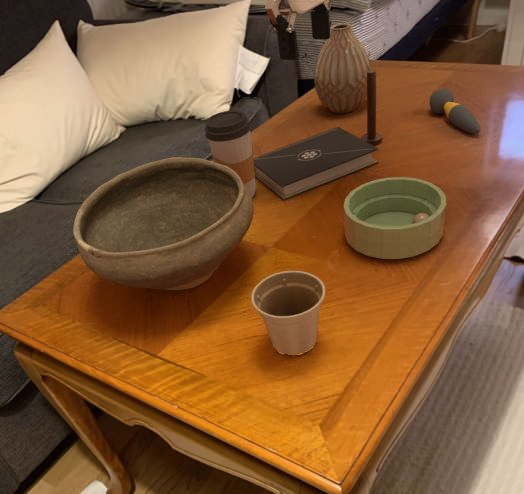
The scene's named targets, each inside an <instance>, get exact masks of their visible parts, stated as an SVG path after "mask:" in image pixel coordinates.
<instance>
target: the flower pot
mask: <svg viewBox="0 0 524 494" xmlns="http://www.w3.org/2000/svg"><path fill="white" fill-rule="evenodd" d="M325 296H326V287H325V284H324V282H323V281H322V280H321V279H320V278H319V277H318V276H317V275H315V274H313V273H310V272H307V271H304V270H303V271H302V270H284V271H279V272H276V273H272V274H271V275H268V276H267V277H265V278H263V279H261V280H260V281H259V282H258V283H257V284H256V285H255V286H254V287H253V290H252V291H251V295H250V300H251V304H252V306H253V308H254V309H255V310H256V311H257V313H258V315H259V316H260V317H261V318H262V321H263V323H264V326H265V328H266V332H267V334H268V337H269V340H270V342H271V345H272V347H273V349H274V348H275V349H276V350H277V351H279V352H281V353H283V354H288V355H287V356H290V355H297V354H300V353H304V352H305V351H308V350H309V349H310V348H312V347H313V346H314V345H315V346H316V344H317V342H318V330H319V320H320V319H319V318H320V309H321V307H322V305H323V302H324V300H325ZM315 343H316V344H315ZM315 346H314V347H315ZM314 347H313V348H314ZM275 349H274V350H275ZM276 350H275V351H276ZM277 351H276V352H277Z"/></svg>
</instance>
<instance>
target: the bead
mask: <svg viewBox="0 0 524 494" xmlns="http://www.w3.org/2000/svg"><path fill="white" fill-rule="evenodd" d="M427 218H429V215H427V214H425V213H419V214H417V215H415V216H414V218H413V220H412V224H415V223H417V222H420V221H422V220H425V219H427Z"/></svg>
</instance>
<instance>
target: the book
mask: <svg viewBox="0 0 524 494" xmlns="http://www.w3.org/2000/svg"><path fill="white" fill-rule="evenodd" d="M377 151H379V148H378V147H377V146H376V145H374V146H373V145H371V144H369V143H367V142H366V141H364V140H362V139H361V137H358V136H356V135H354V134H353V133H350V132H349V131H347V130H345V129H343V128H341V127H340V126H337V127H334V128H331V129H328V130H325V131H323V132H320V133H317V134H314V135H311V136H309V137H307V138H304V139H301V140H298V141H296V142H294V143H290V144H288V145H285V146H282V147H280V148H277V149H274V150H272V151H269V152H266V153H263V154H261V155H258V156H255V157H253V160H254V170H255V178H257V179H258V180H259V181H260V182H261V183H263V184H264V185H265V186H266V187H268V189H270V190H271V192H274V193H275V194H276V195H277V196H278V197H280V198H281V199H282V200H284V201H286V200H288V199H291V198H293V197H296V196H298V195H301V194H303V193H306V192H308V191H311V190H314V189H317V188H318V187H321V186H323V185H326V184H328V183H331V182H333V181H336V180H340V179H341V178H344V177H346V176H349V175H351V174H354V173H356V172H359V171H362V170H364V169H367V168H369V167H372V166H374V165H376V164H379V161H378V160H376V159H375V158H373V153H374V152H377Z"/></svg>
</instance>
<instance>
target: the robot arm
mask: <svg viewBox="0 0 524 494" xmlns="http://www.w3.org/2000/svg"><path fill="white" fill-rule="evenodd" d="M264 10H265V12H266V14H267V16H268V18H269V24H270V25H271V26H272V27H273V31H274V33H276V36H277V44H278V54H279V58H280V60H282V61H296V60H298V59H299V48H298V39H297V37H298V36H297V30H294V27H295V22H296V18H297V15H299V14H300V15H303V14H306V13H307V12H309V11H310V21H311V23H310V24H311V35H312V39H313V40H326V41H327V39H329V38H330V28H331V24H330V10H331V2H330V0H266V3H265V5H264ZM285 16H287V19H286V18H285Z"/></svg>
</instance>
